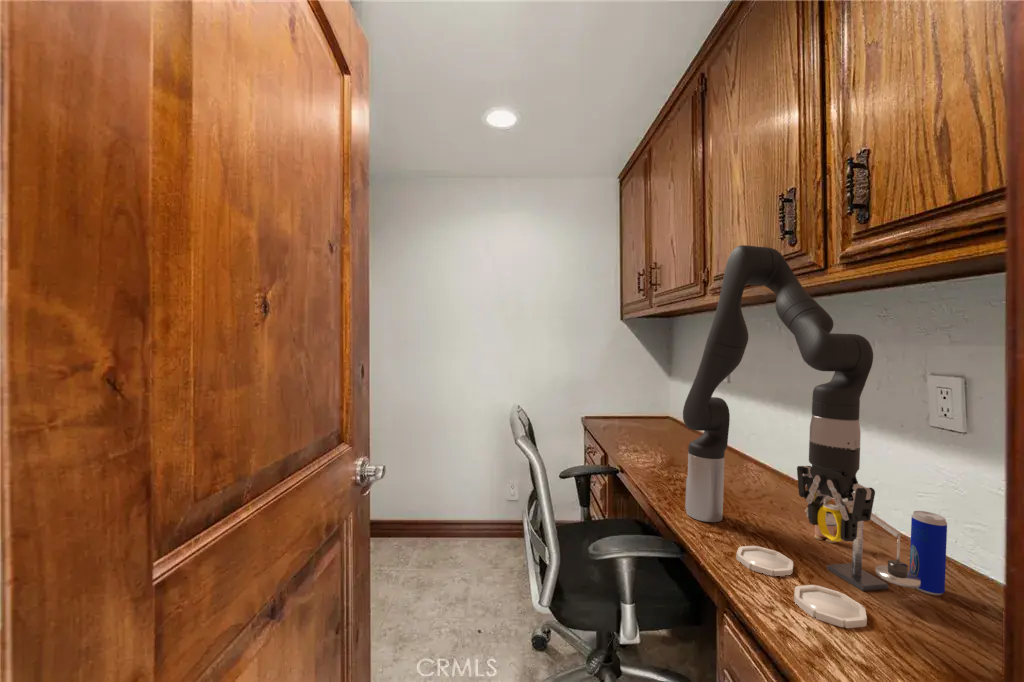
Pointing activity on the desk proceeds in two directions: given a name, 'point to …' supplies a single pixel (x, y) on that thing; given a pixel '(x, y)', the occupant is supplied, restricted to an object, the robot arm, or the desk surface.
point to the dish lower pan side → (830, 606)
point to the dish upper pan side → (764, 560)
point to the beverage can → (928, 551)
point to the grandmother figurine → (830, 528)
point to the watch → (822, 522)
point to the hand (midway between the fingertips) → (831, 531)
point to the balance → (891, 573)
